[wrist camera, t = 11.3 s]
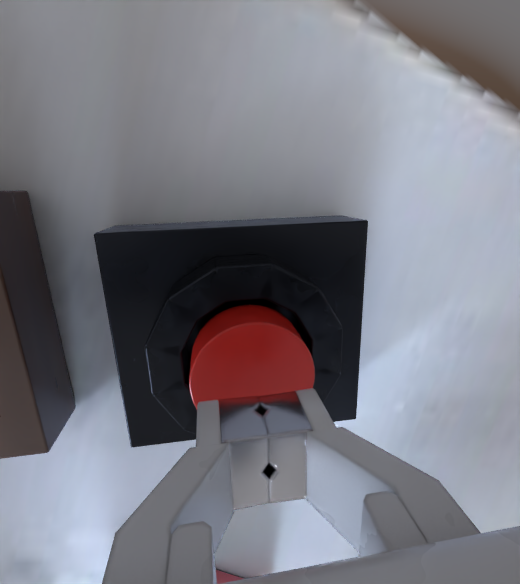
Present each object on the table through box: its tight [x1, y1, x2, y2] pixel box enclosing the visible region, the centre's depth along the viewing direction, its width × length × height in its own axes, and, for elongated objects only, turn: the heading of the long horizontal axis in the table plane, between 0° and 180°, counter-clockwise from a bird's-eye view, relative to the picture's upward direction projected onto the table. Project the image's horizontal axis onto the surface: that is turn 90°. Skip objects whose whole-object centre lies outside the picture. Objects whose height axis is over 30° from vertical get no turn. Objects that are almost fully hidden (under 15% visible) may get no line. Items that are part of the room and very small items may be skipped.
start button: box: [189, 305, 315, 411], centre depth 11 cm, size 4×4×2 cm
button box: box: [94, 216, 368, 447], centre depth 14 cm, size 10×9×4 cm
